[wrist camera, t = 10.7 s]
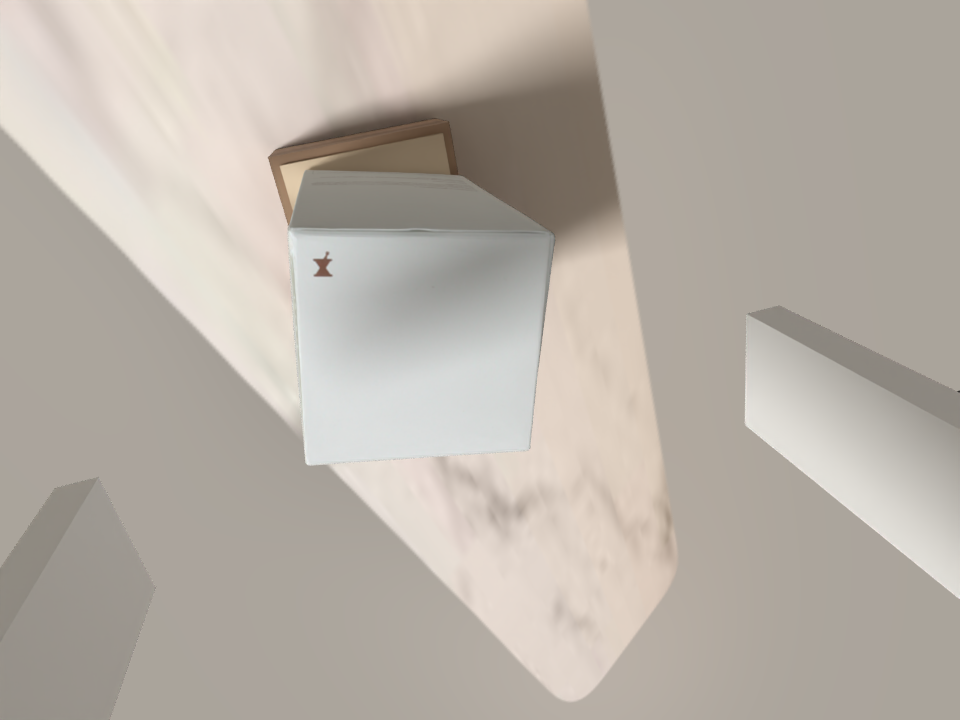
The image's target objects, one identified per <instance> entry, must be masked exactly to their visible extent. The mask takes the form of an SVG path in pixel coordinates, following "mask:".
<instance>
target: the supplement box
mask: <svg viewBox="0 0 960 720" xmlns="http://www.w3.org/2000/svg"><path fill="white" fill-rule="evenodd" d="M554 244H555V236H554V234H553V233H552V232H550V231H549V230H547V229H546V228H544V227H543V226H541V225H540V224H538V223H537V222H535V221H534V220H532V219H530V218H529V217H527V216H526V215H524V214H523V213H521V212H519V211H518V210H516V209H514V208H513V207H511V206H510V205H508V204H506V203H504V202H503V201H501V200H500V199H498V198H496V197H495V196H493V195H491V194H490V193H488V192H487V191H485V190H484V189H482V188H480V187H479V186H477V185H476V184H474V183H473V182H471V181H470V180H468V179H466V178H465V177H464V176H459V175H445V174H426V173H401V172H366V171H332V170H305V171H304V174H303V177H302V181H301V185H300V188H299V192H298V195H297V199H296V203H295V206H294V210H293V213H292V217H291V220H290V224H289V227H288V247H289V264H290V280H291V295H292V310H293V327H294V340H295V352H296V364H297V376H298V387H299V398H300V408H301V418H302V428H303V439H304V451H305V461H306V464H307V465H324V464H336V463H351V462H365V461H380V460H395V459H410V458H424V457H439V456H454V455H470V454H487V453H502V452H518V451H528V450H529V449H530V444H531V433H532V424H533V413H534V403H535V393H536V384H537V374H538V367H539V359H540V351H541V344H542V336H543V328H544V320H545V312H546V305H547V297H548V290H549V282H550V274H551V266H552V258H553V251H554Z"/></svg>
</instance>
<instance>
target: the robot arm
mask: <svg viewBox="0 0 960 720" xmlns="http://www.w3.org/2000/svg"><path fill="white" fill-rule="evenodd" d="M746 317H747V319H746V388H745V389H746V390H745V425H746V426H747V427H748V428H750V429H751V430H752V431H753V432H754V433H756V434H757V435H758V436H759V437H761V438H762V439H763V440H764V441H765V442H767V443H768V444H769V445H770V446H772V447H773V448H774V449H775V450H777V451H778V452H779V453H780V454H781V455H783V456H784V457H785V458H787V459H788V460H789V461H790V462H791V463H793V464H794V465H795V466H796V467H797V468H799V469H800V470H801V471H802V472H804V473H805V474H806V475H807V476H809V477H810V478H811V479H812V480H814V481H815V482H816V483H817V484H819V485H820V486H821V487H822V488H823V489H825V490H826V491H827V492H828V493H830V494H831V495H832V496H833V497H835V498H836V499H837V500H838V501H839V502H841V503H842V504H843V505H844V506H846V507H847V508H848V509H849V510H851V511H852V512H853V513H854V514H855V515H857V516H858V517H859V518H860V519H862V520H863V521H864V522H865V523H866V524H868V525H869V526H870V527H871V528H873V529H874V530H875V531H876V532H877V533H879V534H880V535H881V536H882V537H884V538H885V539H886V540H887V541H889V542H890V543H891V544H892V545H893V546H895V547H896V548H897V549H898V550H900V551H901V552H902V553H903V554H905V555H906V556H907V557H908V558H910V559H911V560H912V561H913V562H914V563H916V564H917V565H918V566H920V567H921V568H922V569H923V570H924V571H926V572H927V573H928V574H929V575H931V576H932V577H933V578H934V579H935V580H937V581H938V582H939V583H941V584H942V585H943V586H944V587H945V588H946V589H948V590H949V591H950V592H951V593H953V594H954V595H955V596H956V597H958V598H959V599H960V391H955V390H953V389H951V388H949V387H946V386H944V385H942V384H940V383H938V382H936V381H934V380H932V379H930V378H928V377H926V376H924V375H921V374H919V373H917V372H915V371H913V370H911V369H909V368H907V367H905V366H903V365H901V364H899V363H897V362H895V361H893V360H891V359H889V358H887V357H884V356H883V355H880V354H878V353H876V352H874V351H872V350H870V349H868V348H866V347H864V346H862V345H860V344H858V343H856V342H854V341H852V340H849V339H847V338H845V337H843V336H841V335H839V334H837V333H835V332H833V331H831V330H829V329H827V328H825V327H822V326H821V325H818V324H816V323H814V322H812V321H810V320H808V319H806V318H804V317H802V316H800V315H798V314H795V313H794V312H791V311H790V310H788V309H786V308H783V307H781V306H776V307H772V308H768V309H764V310H760V311H756V312H752V313H748V314H747V316H746ZM155 588H156V587H155V585H154V583H153V581H152V579H151V577H150V575H149V574H148V572H147V570H146V568H145V566H144V564H143V562H142V560H141V558H140V556H139V554H138V552H137V550H136V548H135V547H134V545H133V543H132V541H131V539H130V537H129V535H128V533H127V531H126V529H125V527H124V525H123V523H122V521H121V520H120V518H119V516H118V514H117V512H116V510H115V508H114V506H113V504H112V502H111V500H110V498H109V496H108V494H107V493H106V491H105V489H104V487H103V485H102V483H101V481H100V479H99V477H97V478H93V479H89V480H85V481H81V482H77V483H73V484H69V485H65V486H61V487H57V488H55V489H54V490H53V492H52V493H51V495H50V496H49V498H48V499H47V501H46V502H45V504H44V505H43V506H42V508H41V509H40V511H39V512H38V514H37V515H36V517H35V518H34V519H33V521H32V522H31V524H30V526H29V527H28V528H27V530H26V531H25V533H24V534H23V535H22V537H21V538H20V540H19V541H18V543H17V544H16V546H15V547H14V549H13V550H12V551H11V553H10V554H9V556H8V557H7V559H6V560H5V562H4V563H3V565H2V566H1V568H0V720H110V717H111V715H112V711H113V709H114V706H115V703H116V700H117V697H118V694H119V692H120V689H121V686H122V683H123V680H124V677H125V674H126V672H127V668H128V666H129V663H130V660H131V657H132V654H133V651H134V649H135V646H136V643H137V640H138V637H139V634H140V631H141V628H142V626H143V623H144V620H145V617H146V614H147V611H148V608H149V605H150V602H151V600H152V597H153V594H154V591H155Z"/></svg>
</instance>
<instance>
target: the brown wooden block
mask: <svg viewBox="0 0 960 720" xmlns="http://www.w3.org/2000/svg"><path fill="white" fill-rule="evenodd" d="M268 159H269V162H270V166H271V169H272V172H273V176H274V179H275V183H276V186H277V189H278V193H279V196H280V199H281V203H282V206H283V209H284V213H285V216H286V219H287V223H288V226H289V224H290V220H291V217H292V213H293V210H294V206H295V203H296V199H297V195H298V192H299V188H300V185H301V181H302V177H303V174H304V171H305V170H332V171H366V172H401V173H426V174H445V175H458V170H457V165H456V159H455V153H454V148H453V142H452V136H451V131H450V125H449V122H447V121H444V120H440V119H436V118H435V119H430V120H425V121H420V122H414V123H409V124H404V125H399V126H394V127H389V128H384V129H379V130H374V131H368V132H363V133H358V134H353V135H348V136H343V137H338V138H333V139H328V140H323V141H317V142H312V143H307V144H302V145H297V146H292V147H287V148H282V149H277V150H275V151H274V152H273V153H272V154H271V155H270V156H269V157H268Z"/></svg>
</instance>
